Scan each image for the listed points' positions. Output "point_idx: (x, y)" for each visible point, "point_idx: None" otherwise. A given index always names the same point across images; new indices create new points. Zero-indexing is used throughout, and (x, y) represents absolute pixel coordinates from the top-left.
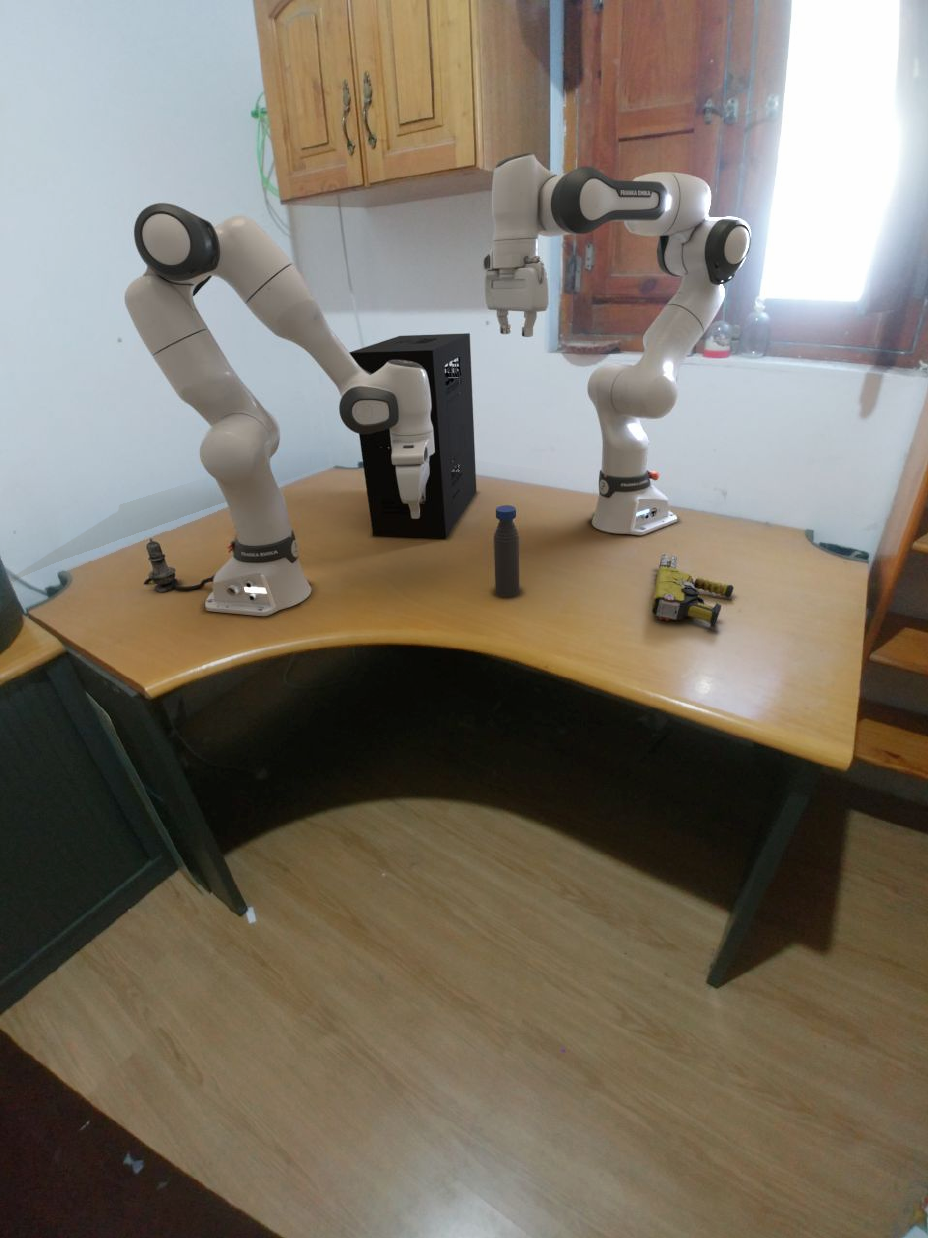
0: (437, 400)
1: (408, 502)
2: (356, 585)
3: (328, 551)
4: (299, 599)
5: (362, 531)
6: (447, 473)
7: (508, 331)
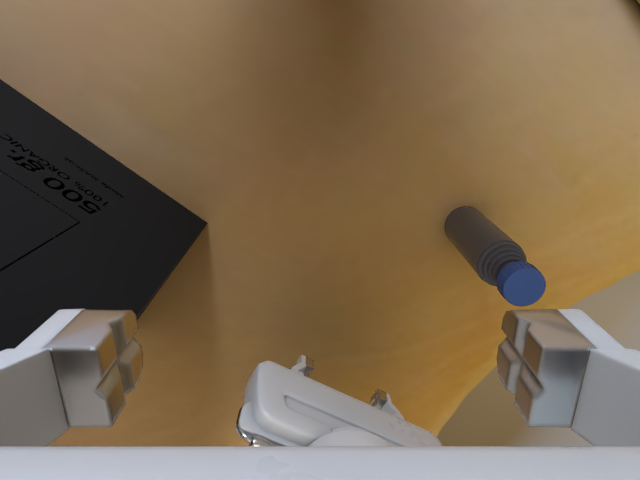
0: None
1: None
2: None
3: (168, 400)
4: None
5: None
6: (122, 239)
7: (130, 332)
